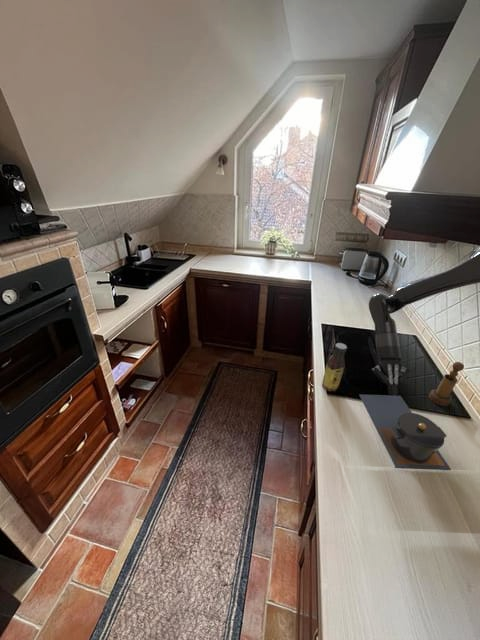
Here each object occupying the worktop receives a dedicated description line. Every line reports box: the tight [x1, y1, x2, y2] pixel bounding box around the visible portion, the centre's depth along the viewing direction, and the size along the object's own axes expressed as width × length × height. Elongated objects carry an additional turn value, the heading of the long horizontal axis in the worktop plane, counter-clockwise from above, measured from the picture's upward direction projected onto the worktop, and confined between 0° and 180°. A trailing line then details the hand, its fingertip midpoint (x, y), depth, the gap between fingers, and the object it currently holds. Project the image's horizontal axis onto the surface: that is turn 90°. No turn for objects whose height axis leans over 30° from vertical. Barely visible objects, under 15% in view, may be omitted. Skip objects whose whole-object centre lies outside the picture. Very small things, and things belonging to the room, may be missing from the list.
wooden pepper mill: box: [428, 361, 465, 407], centre depth 92 cm, size 7×6×18 cm
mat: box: [358, 393, 452, 471], centre depth 85 cm, size 16×28×1 cm, turn 179°
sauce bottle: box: [321, 342, 348, 393], centre depth 96 cm, size 7×6×20 cm
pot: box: [391, 412, 447, 464], centre depth 77 cm, size 15×12×10 cm
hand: (393, 395), depth 89 cm, fingers closed
